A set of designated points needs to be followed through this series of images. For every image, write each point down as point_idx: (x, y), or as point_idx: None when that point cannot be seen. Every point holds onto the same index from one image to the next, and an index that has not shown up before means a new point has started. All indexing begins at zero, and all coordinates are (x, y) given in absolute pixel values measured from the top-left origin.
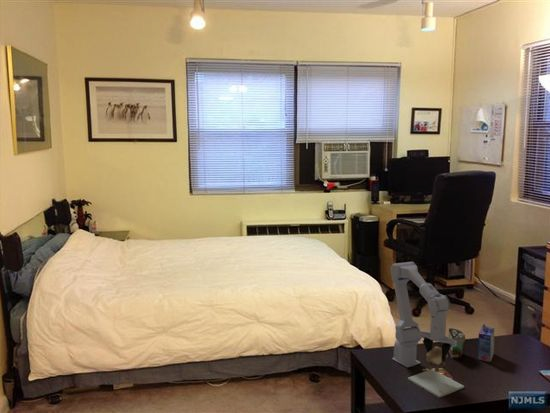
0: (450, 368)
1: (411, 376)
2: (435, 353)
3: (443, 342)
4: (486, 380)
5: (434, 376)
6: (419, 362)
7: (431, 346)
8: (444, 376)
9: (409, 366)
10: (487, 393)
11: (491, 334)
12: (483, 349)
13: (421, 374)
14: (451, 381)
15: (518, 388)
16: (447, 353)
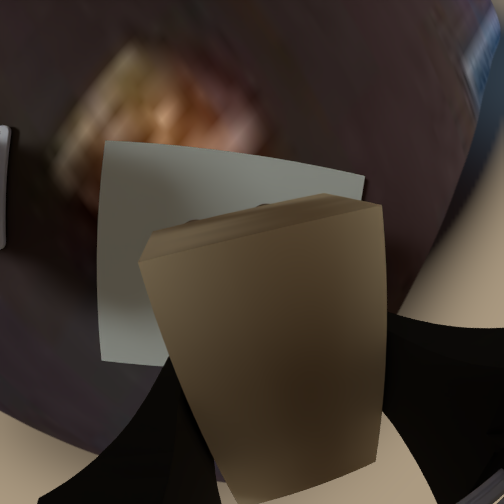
0: (174, 18)
1: (100, 336)
2: (309, 451)
3: (486, 502)
4: (381, 21)
5: (181, 218)
6: (5, 136)
7: (190, 453)
8: (224, 160)
9: (3, 233)
10: (438, 143)
11: None
12: None
13: (112, 267)
14: (293, 186)
15: (466, 27)
16: (417, 321)
